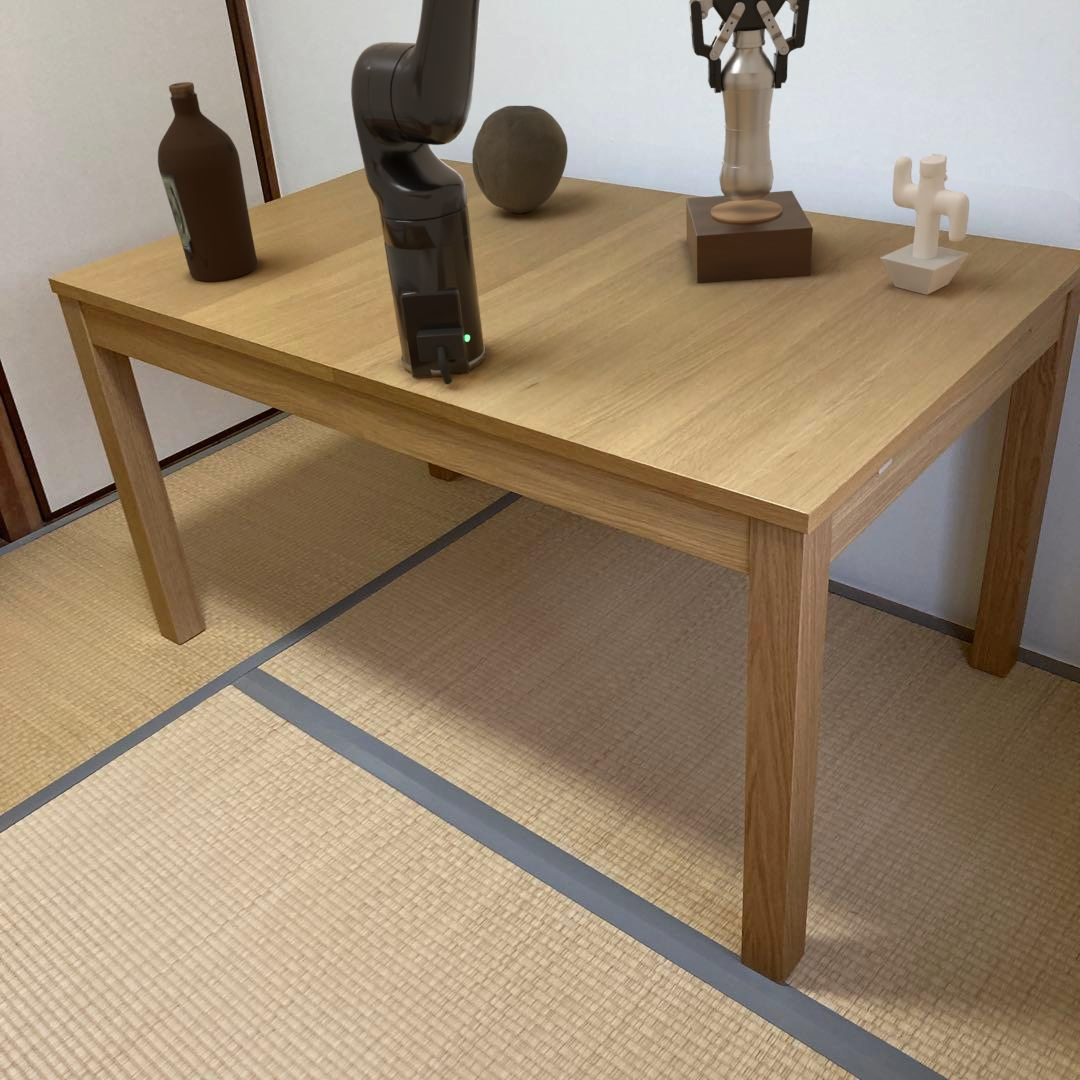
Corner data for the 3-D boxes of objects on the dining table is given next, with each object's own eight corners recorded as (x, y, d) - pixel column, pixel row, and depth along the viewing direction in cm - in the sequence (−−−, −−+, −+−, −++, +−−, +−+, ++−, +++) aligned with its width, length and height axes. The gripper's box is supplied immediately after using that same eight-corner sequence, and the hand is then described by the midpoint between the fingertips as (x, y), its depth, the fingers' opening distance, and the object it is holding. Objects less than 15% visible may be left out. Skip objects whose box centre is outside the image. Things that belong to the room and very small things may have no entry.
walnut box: (810, 275, 143) (813, 225, 140) (697, 283, 144) (696, 233, 141) (790, 234, 157) (792, 188, 153) (686, 242, 158) (686, 195, 154)
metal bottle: (772, 206, 143) (777, 32, 132) (716, 207, 144) (717, 34, 134) (773, 191, 148) (779, 22, 138) (720, 192, 150) (721, 25, 139)
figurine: (938, 303, 132) (953, 170, 124) (869, 285, 139) (879, 158, 131) (974, 285, 136) (990, 155, 128) (905, 268, 142) (916, 144, 134)
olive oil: (257, 253, 169) (217, 72, 156) (267, 274, 160) (226, 85, 147) (183, 266, 166) (136, 84, 153) (189, 289, 158) (141, 97, 145)
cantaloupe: (556, 223, 169) (548, 117, 161) (465, 223, 173) (453, 119, 165) (580, 195, 181) (574, 95, 173) (495, 195, 184) (485, 97, 176)
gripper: (688, -57, 128) (690, 100, 137) (820, -68, 127) (813, 91, 136) (683, -63, 134) (684, 88, 143) (808, -74, 133) (802, 78, 142)
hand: (747, 89), depth 139 cm, fingers closed on metal bottle, 6 cm apart
